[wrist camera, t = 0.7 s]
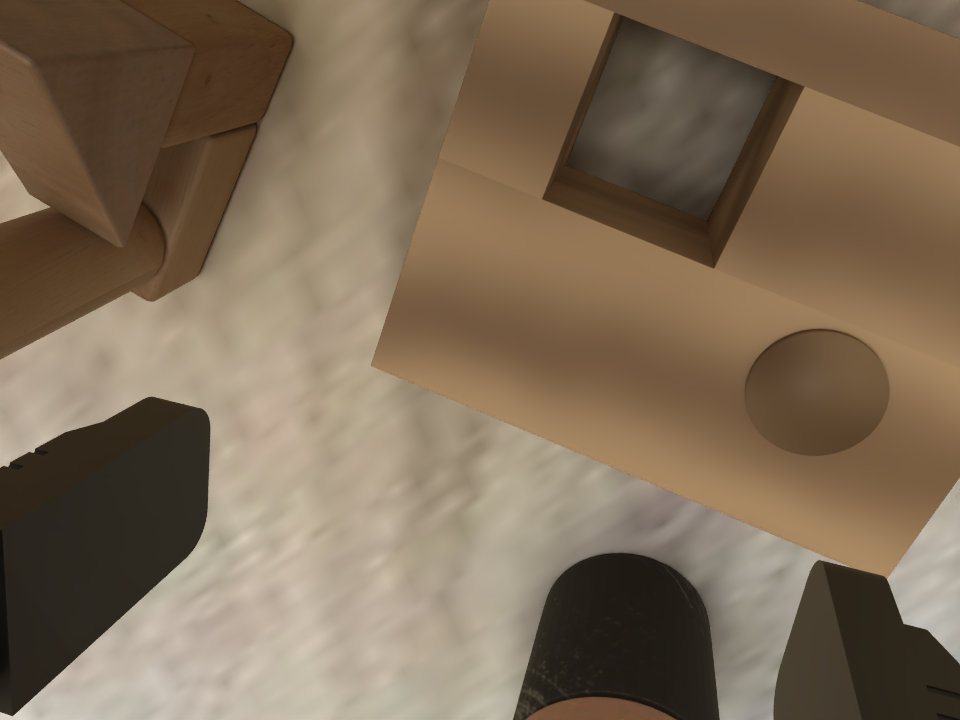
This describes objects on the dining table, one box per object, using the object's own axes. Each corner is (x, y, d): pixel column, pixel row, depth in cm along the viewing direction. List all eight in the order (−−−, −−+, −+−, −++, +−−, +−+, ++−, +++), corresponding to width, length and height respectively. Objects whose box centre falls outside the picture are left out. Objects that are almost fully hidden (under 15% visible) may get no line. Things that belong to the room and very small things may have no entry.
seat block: (558, -100, 28) (528, -127, 22) (1097, 107, 27) (1212, 135, 21) (419, 308, 34) (367, 369, 28) (850, 486, 33) (887, 587, 27)
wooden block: (299, 36, 31) (-119, 70, 15) (200, 279, 36) (-203, 510, 19) (211, -17, 31) (-307, -43, 15) (123, 233, 35) (-346, 426, 19)
